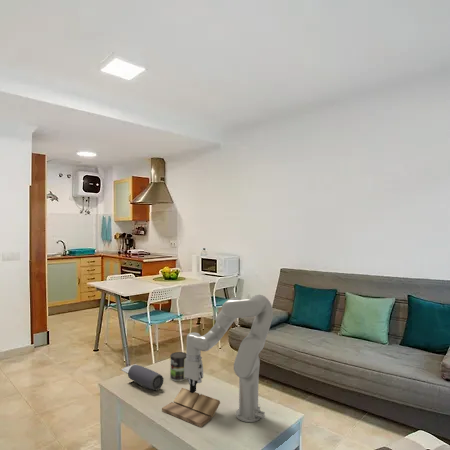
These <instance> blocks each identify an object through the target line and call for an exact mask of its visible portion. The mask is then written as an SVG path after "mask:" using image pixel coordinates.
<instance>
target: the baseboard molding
mask: <svg viewBox="0 0 450 450" xmlns="http://www.w3.org/2000/svg"><path fill="white" fill-rule="evenodd" d="M133 365H137V364H136V363H133V364H132V363H131V364H130V363H128V364H127V365H126V366H124V367H123V366H121V368H119V370H120V371H122V372H124V373H125V374H127V373H128V372H129V369H130V367H131V366H133ZM164 379H165V377H163V380H164Z"/></svg>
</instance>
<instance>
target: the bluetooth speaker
mask: <svg viewBox="0 0 450 450" xmlns="http://www.w3.org/2000/svg"><path fill="white" fill-rule="evenodd" d="M132 365H133V366H131V365H130V366H131V367H130V369H129V372H128V374H127V376H128V378H129V379H130V380H132V381H133V382H135V383H137V384H138V385H139V386H140V387H142V388H144V389H148V390H154V391H157V390H160V389H161V388H162V387H163V384H164V379H163V378H164V377H163V375H162V374H160V373H159V372H157V371H154V370H152V369H149V368H147V367H145V366H142V365H138V364H136V365H134V364H132Z"/></svg>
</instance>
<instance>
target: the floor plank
mask: <svg viewBox="0 0 450 450" xmlns="http://www.w3.org/2000/svg"><path fill="white" fill-rule="evenodd" d="M161 412H163V413H166V414H168V415H170V416H173V417H175V418H178V419H180V420H182V421H185V422H188V423H190V424H192V425H194V426H196V427H199V428H202V427H203V426H204V425H206V424H207V423H208V422H210V421H211V420H212V417H210V416H207V415H205V414H202V413H199V412H197V411H194V410H193V409H189V408H186V407H184V406H181V405H179V404H176V403H174V401H173V402H172V401H171V402H169V403H168V404H166V405H164V406H163V407H161Z"/></svg>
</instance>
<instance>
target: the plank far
mask: <svg viewBox="0 0 450 450" xmlns="http://www.w3.org/2000/svg"><path fill="white" fill-rule="evenodd" d="M199 396H200V393H198V392H197V391H195V392H194V393H191V392H190V389H186V388H184V387H181V389H180V390H179V391H178V393H177V394H176V397H175V398H174V399H173V403H175V404H178V405H181V406H183V407H186V408H188V409H191V410H193V409H192V408H193V407H194V405H195V403H196V401H197V400H198V398H199Z"/></svg>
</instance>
